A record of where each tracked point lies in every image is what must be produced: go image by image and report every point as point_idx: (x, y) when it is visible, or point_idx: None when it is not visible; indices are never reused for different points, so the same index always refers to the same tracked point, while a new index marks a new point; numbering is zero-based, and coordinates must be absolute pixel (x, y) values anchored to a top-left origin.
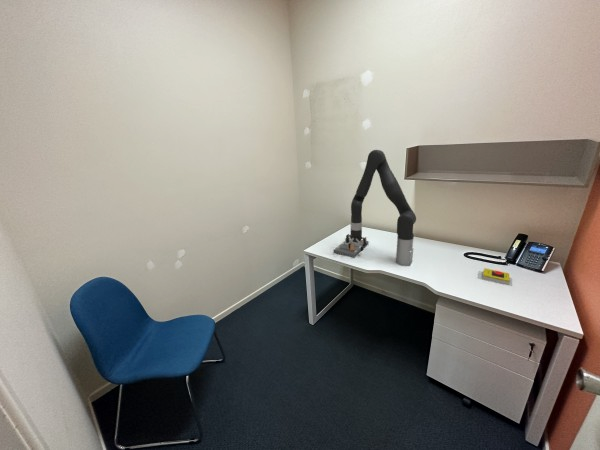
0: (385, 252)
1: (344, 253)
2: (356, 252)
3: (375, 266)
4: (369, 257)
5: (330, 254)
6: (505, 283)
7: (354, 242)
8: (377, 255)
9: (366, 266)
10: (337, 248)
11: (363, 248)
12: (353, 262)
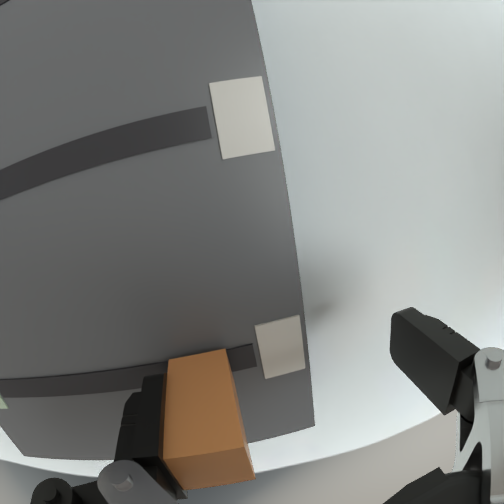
0: (489, 46)
1: None
2: (309, 366)
3: None
4: (441, 260)
5: None
6: None
7: (15, 26)
8: (480, 154)
9: None
10: (7, 413)
11: (453, 335)
12: (339, 446)
